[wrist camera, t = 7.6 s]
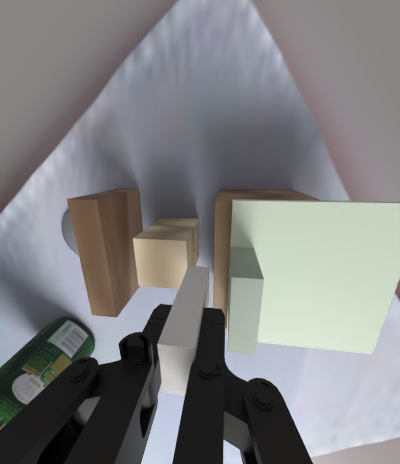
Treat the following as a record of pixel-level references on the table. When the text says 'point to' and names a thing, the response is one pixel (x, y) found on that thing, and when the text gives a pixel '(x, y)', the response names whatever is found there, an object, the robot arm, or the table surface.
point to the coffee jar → (41, 364)
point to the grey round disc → (69, 232)
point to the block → (166, 251)
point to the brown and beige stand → (122, 248)
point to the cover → (311, 273)
